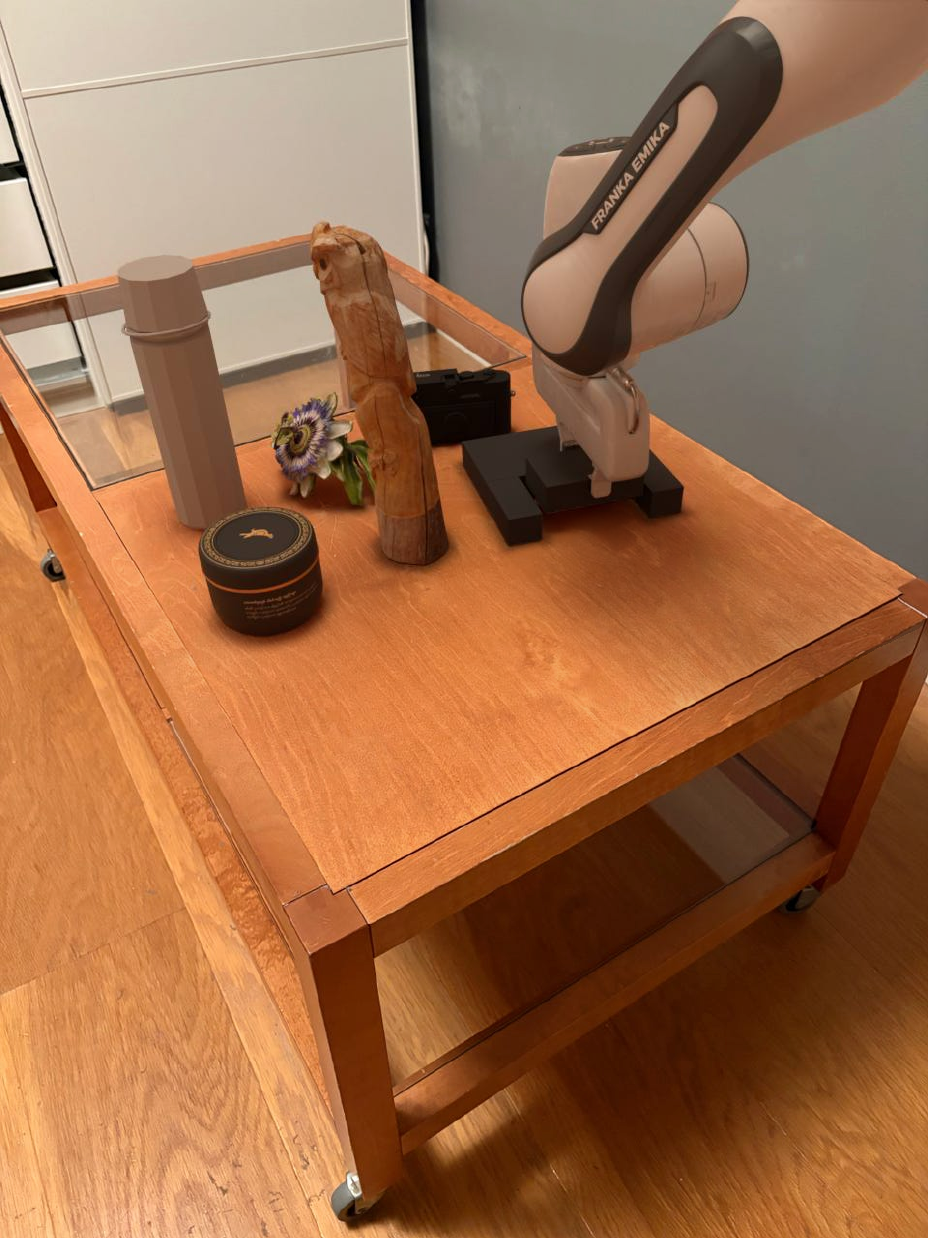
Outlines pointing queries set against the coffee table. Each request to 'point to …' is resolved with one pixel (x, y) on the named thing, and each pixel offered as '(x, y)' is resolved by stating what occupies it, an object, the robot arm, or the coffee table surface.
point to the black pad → (571, 481)
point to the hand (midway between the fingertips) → (584, 474)
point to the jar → (262, 570)
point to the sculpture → (382, 391)
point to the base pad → (510, 500)
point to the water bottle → (182, 386)
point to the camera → (464, 404)
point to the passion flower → (320, 449)
